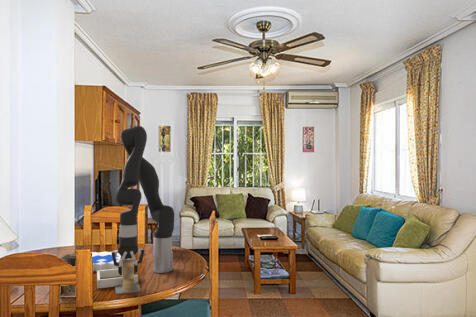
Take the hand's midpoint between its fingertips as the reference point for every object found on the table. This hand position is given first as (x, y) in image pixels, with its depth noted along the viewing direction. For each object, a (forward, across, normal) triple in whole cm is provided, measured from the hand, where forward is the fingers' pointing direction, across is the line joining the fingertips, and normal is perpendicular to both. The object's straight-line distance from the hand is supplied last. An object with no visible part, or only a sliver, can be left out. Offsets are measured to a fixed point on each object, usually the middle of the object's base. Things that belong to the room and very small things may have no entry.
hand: (127, 273), depth 150 cm
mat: (+7, 0, 0) cm, 7 cm away
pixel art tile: (+7, +9, -44) cm, 45 cm away
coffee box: (+7, +21, -1) cm, 22 cm away
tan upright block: (+6, 0, 0) cm, 6 cm away
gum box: (+7, -25, -56) cm, 62 cm away
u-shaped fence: (+7, +4, -13) cm, 15 cm away
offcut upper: (+4, -2, -13) cm, 14 cm away
